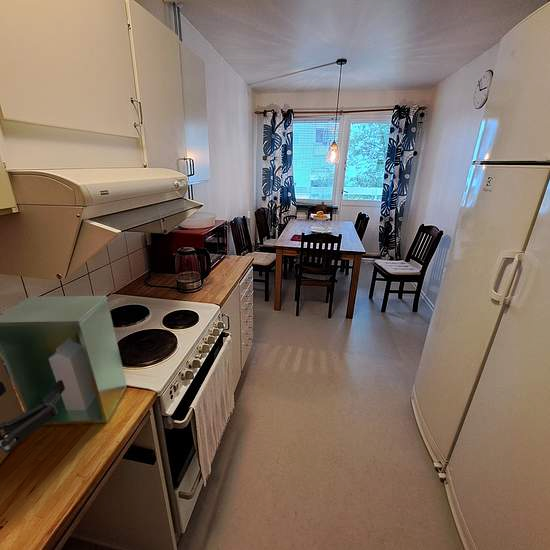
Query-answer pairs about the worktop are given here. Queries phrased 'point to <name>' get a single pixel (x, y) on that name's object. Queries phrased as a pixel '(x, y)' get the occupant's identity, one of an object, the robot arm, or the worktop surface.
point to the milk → (73, 375)
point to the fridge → (48, 337)
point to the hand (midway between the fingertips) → (32, 385)
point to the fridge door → (7, 404)
